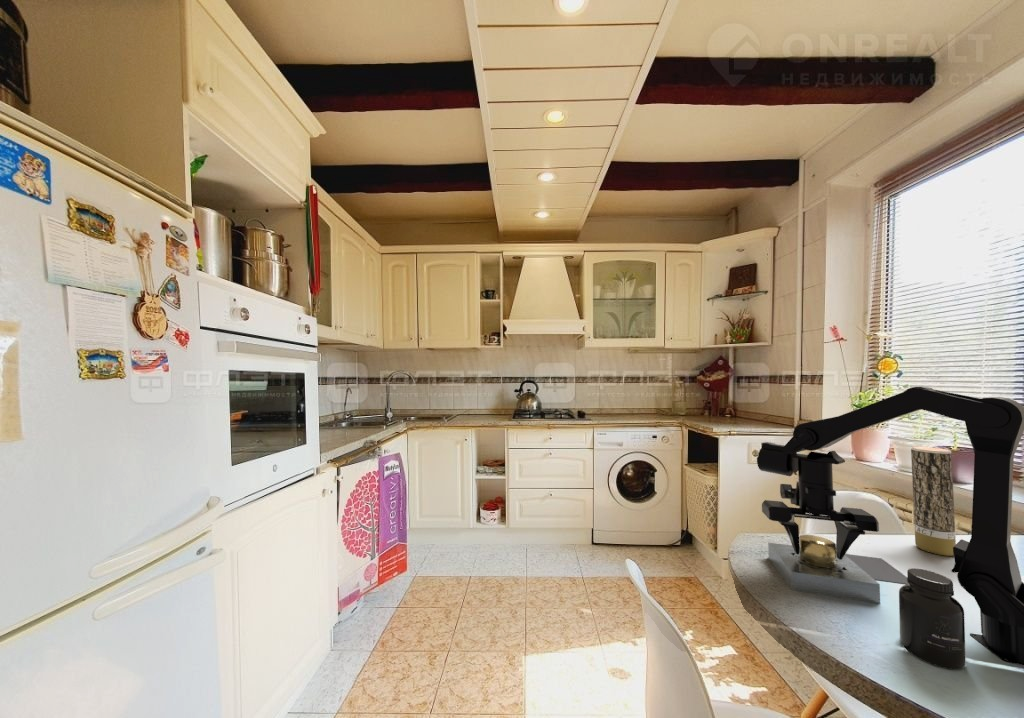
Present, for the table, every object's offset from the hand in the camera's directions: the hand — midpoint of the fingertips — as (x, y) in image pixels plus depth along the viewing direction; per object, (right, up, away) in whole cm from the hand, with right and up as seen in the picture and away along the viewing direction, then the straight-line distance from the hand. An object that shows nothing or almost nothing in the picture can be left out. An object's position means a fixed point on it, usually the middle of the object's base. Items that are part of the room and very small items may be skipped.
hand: (817, 556), depth 80 cm
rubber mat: (+15, -5, +4) cm, 17 cm away
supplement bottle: (0, -4, -21) cm, 22 cm away
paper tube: (+40, -6, +14) cm, 43 cm away
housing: (0, -5, 0) cm, 5 cm away
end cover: (0, -5, 0) cm, 4 cm away
